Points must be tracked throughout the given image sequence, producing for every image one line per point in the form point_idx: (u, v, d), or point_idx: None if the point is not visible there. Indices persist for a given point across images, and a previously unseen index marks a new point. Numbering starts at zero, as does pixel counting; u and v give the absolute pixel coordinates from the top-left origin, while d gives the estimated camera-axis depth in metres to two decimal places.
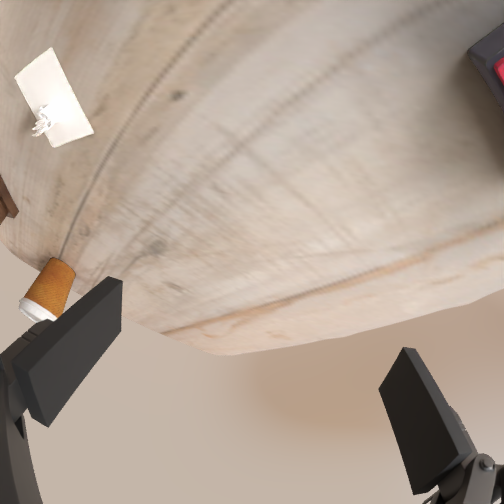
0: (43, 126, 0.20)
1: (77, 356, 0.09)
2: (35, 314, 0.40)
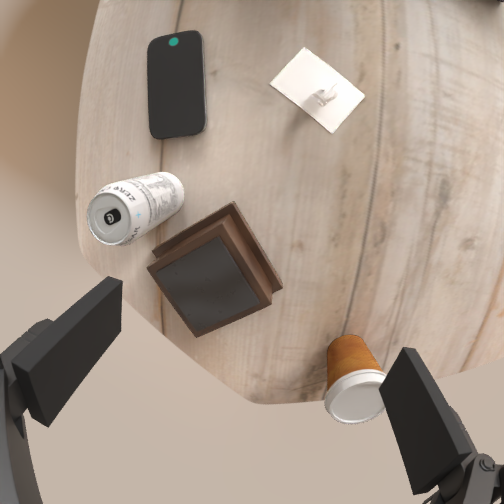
0: (332, 91, 0.30)
1: (77, 356, 0.09)
2: (367, 379, 0.31)
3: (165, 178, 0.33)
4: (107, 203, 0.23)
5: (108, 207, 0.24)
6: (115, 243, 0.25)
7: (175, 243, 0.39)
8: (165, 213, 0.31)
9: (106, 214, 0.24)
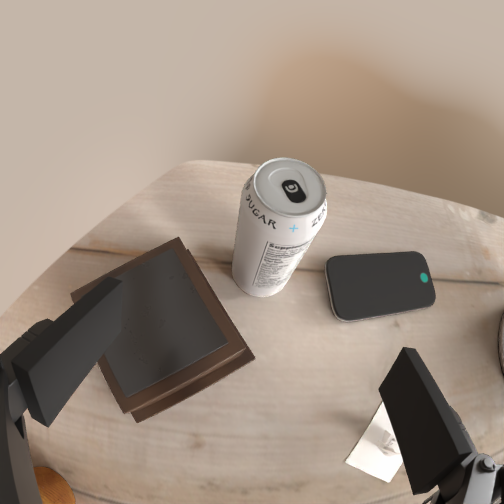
0: (397, 450, 0.22)
1: (77, 356, 0.09)
2: None
3: None
4: (311, 186, 0.19)
5: (306, 188, 0.19)
6: (256, 189, 0.18)
7: None
8: (259, 270, 0.24)
9: (295, 184, 0.19)
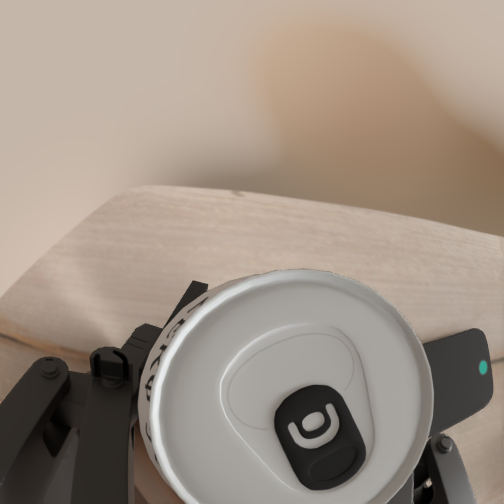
0: None
1: None
2: None
3: None
4: (389, 403, 0.04)
5: (370, 413, 0.04)
6: (161, 448, 0.03)
7: None
8: None
9: (332, 403, 0.04)
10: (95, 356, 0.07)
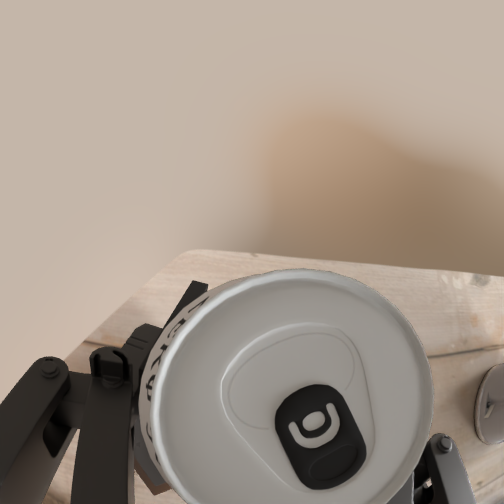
0: None
1: None
2: None
3: None
4: (389, 403, 0.04)
5: (371, 412, 0.04)
6: (162, 448, 0.03)
7: None
8: None
9: (333, 403, 0.04)
10: (95, 356, 0.07)
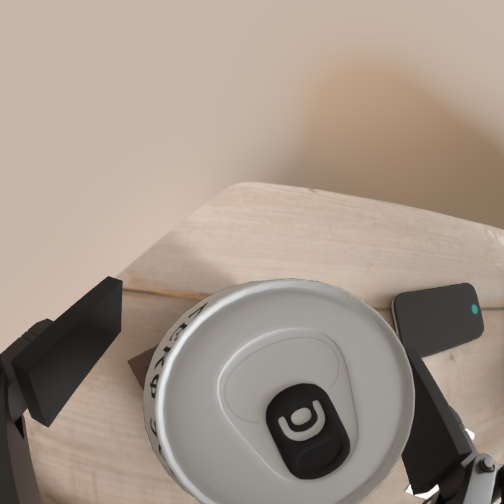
0: None
1: (77, 356, 0.09)
2: None
3: None
4: (371, 401, 0.05)
5: (354, 409, 0.05)
6: (165, 440, 0.04)
7: None
8: None
9: (318, 400, 0.05)
10: None
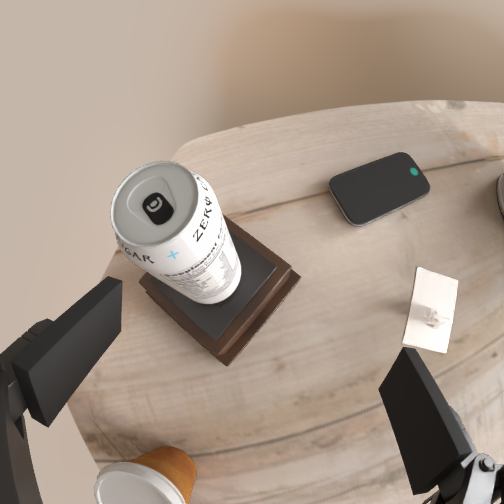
0: (440, 320, 0.30)
1: (77, 356, 0.09)
2: (174, 503, 0.17)
3: (235, 271, 0.24)
4: (178, 191, 0.14)
5: (172, 196, 0.14)
6: (114, 226, 0.14)
7: None
8: (186, 290, 0.20)
9: (158, 196, 0.14)
10: None
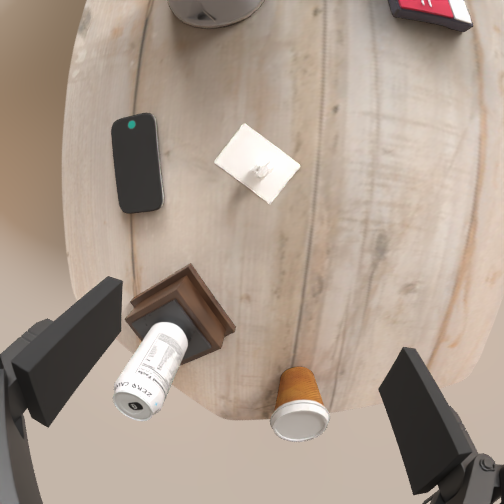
0: (265, 169, 0.38)
1: (77, 356, 0.09)
2: (301, 409, 0.39)
3: (170, 339, 0.37)
4: (129, 398, 0.27)
5: (131, 400, 0.27)
6: (141, 420, 0.28)
7: (147, 296, 0.46)
8: (174, 376, 0.35)
9: (130, 404, 0.27)
10: None
